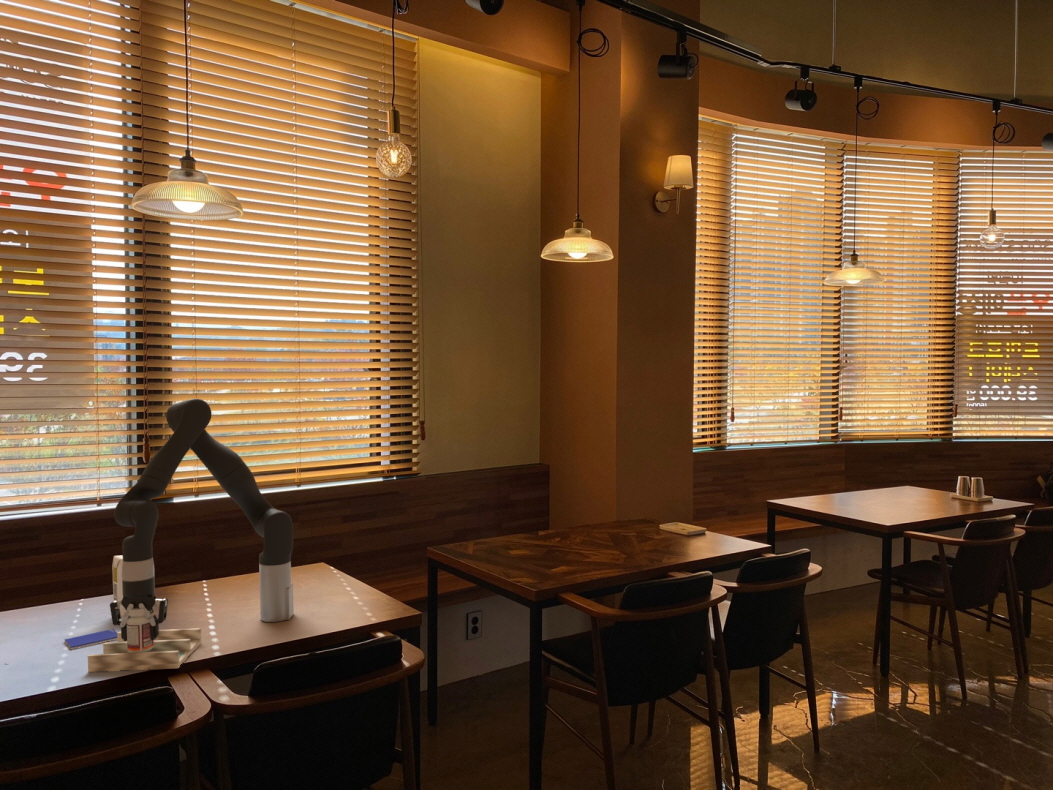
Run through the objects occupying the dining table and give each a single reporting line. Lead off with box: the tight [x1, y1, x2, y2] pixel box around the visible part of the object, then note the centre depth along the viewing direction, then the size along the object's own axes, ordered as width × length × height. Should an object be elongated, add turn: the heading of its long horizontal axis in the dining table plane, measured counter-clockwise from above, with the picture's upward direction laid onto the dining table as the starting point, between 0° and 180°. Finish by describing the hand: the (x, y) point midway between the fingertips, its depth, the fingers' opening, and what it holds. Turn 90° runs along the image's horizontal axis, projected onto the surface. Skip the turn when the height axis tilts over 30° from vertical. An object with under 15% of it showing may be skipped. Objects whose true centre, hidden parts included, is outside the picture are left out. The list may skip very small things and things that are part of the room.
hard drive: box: [64, 628, 118, 650], centre depth 219 cm, size 2×8×12 cm
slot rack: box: [87, 627, 202, 673], centre depth 206 cm, size 22×18×4 cm
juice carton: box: [111, 554, 126, 619], centre depth 240 cm, size 8×9×19 cm
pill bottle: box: [127, 608, 154, 653], centre depth 201 cm, size 6×6×11 cm
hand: (140, 639), depth 201 cm, fingers closed on pill bottle, 6 cm apart
